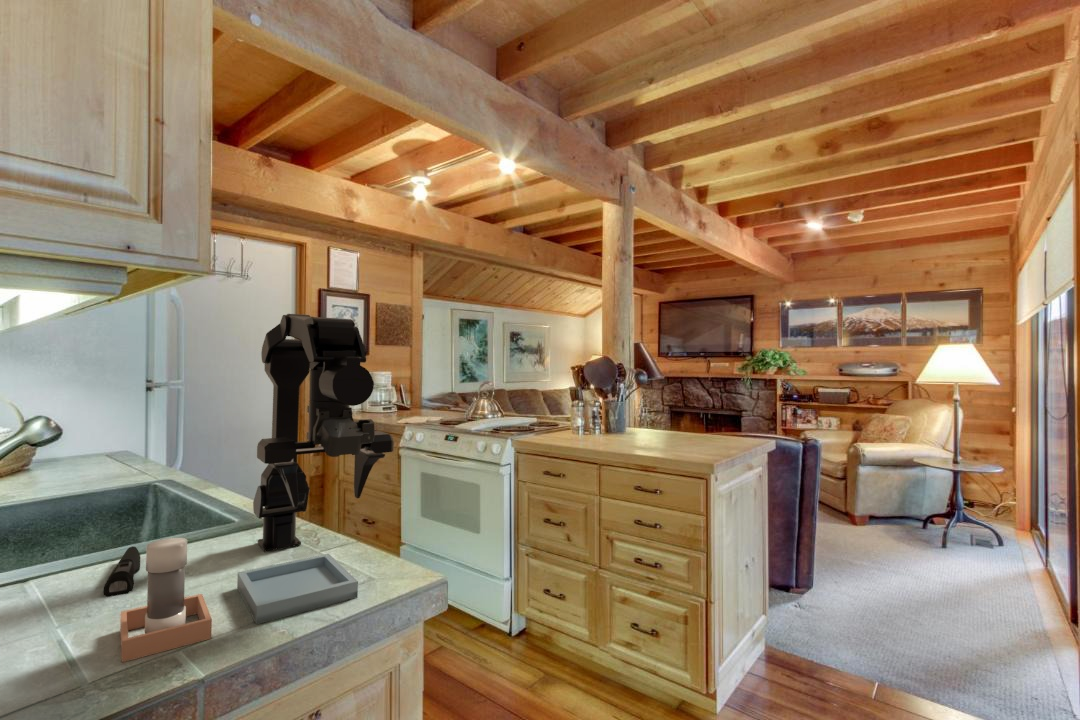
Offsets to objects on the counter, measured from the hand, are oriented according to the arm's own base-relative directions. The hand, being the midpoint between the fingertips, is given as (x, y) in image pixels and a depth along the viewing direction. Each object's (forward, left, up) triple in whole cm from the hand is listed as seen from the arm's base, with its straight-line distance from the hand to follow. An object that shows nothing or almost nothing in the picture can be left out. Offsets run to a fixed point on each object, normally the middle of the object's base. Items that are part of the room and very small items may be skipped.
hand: (327, 502), depth 82 cm
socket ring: (-1, -20, -15) cm, 25 cm away
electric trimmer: (-26, -24, -15) cm, 39 cm away
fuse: (-1, -20, -15) cm, 25 cm away
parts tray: (-4, -3, -15) cm, 16 cm away
